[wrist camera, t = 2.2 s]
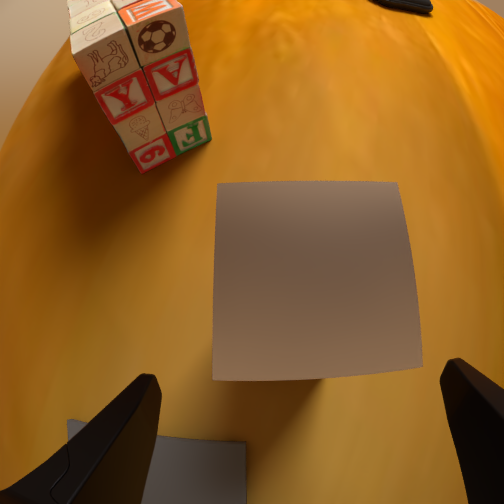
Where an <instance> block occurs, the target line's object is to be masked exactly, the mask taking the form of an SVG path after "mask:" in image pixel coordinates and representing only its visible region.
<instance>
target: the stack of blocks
mask: <svg viewBox="0 0 504 504" xmlns="http://www.w3.org/2000/svg"><path fill="white" fill-rule="evenodd" d="M67 7H68V10H69V15H70V20H69V27H70V35H71V36H70V42H71V52H72V55H73V58H74V60H75V62H76V63H77V65H78V67H79V69H80V70H81V72H82V74H83V76H84V78H85V80H86V81H87V83H88V85H89V86H90V88H91V89H92V91H93V93H94V96H95V97H96V99H97V101H98V103H99V105H100V107H101V108H102V110H103V112H104V113H105V115H106V116H107V118H108V120H109V121H110V123H111V124H112V125H113V127H114V129H115V130H116V132H117V133H118V135H119V136H120V138H121V140H122V142H123V143H124V145H125V147H126V149H127V152H128V154H129V155H130V157H131V158H132V160H133V162H134V163H135V165H136V166H137V168H138V170H139V171H140V173H141V174H143V173H145V172H147V171H149V170H151V169H153V168H155V167H157V166H159V165H161V164H162V163H164V162H166V161H168V160H170V159H172V158H175V157H176V156H178V155H179V154H182V153H184V152H186V151H188V150H190V149H192V148H194V147H197V146H199V145H201V144H203V143H205V142H208V141H210V140H212V137H211V132H210V127H209V122H208V117H207V114H206V112H205V110H204V105H203V101H202V96H201V92H200V88H199V85H198V82H199V78H198V73H197V69H196V65H195V60H194V57H193V52H192V49H191V47H190V41H189V36H188V31H187V25H186V21H185V16H184V11H183V7H182V5H181V4H180V3H178V2H177V1H176V0H67Z"/></svg>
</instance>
